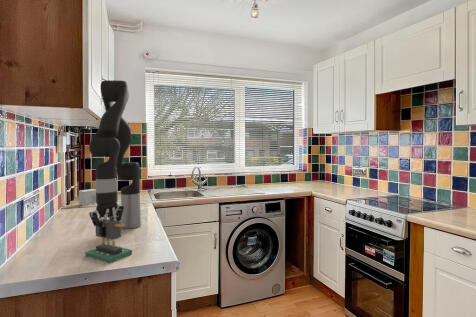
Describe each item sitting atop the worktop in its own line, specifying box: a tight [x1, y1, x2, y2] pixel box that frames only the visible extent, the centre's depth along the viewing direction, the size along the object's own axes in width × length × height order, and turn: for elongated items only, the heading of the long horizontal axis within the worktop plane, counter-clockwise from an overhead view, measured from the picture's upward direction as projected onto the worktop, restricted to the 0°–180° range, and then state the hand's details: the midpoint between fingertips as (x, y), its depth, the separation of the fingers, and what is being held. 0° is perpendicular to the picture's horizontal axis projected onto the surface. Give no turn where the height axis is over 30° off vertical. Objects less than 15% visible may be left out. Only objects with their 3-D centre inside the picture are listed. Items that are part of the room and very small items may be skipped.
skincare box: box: [78, 188, 96, 206], centre depth 209 cm, size 10×6×10 cm, turn 141°
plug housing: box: [95, 218, 125, 241], centre depth 111 cm, size 13×4×6 cm, turn 61°
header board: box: [84, 237, 133, 264], centre depth 112 cm, size 14×10×6 cm
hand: (108, 234), depth 112 cm, fingers closed on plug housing, 3 cm apart
